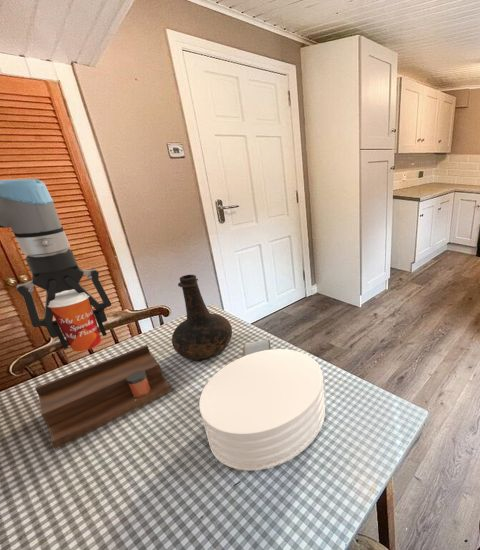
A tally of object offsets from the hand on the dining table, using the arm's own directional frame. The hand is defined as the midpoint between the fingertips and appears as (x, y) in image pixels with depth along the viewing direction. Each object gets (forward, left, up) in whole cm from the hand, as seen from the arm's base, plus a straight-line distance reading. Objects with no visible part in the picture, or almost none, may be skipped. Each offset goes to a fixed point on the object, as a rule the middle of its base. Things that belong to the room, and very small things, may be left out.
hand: (85, 339), depth 76 cm
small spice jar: (+9, +1, -17) cm, 19 cm away
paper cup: (0, 0, -2) cm, 2 cm away
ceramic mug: (+36, +16, -20) cm, 44 cm away
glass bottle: (+15, +23, -20) cm, 34 cm away
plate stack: (+46, -5, -20) cm, 50 cm away
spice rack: (+1, -1, -20) cm, 20 cm away
